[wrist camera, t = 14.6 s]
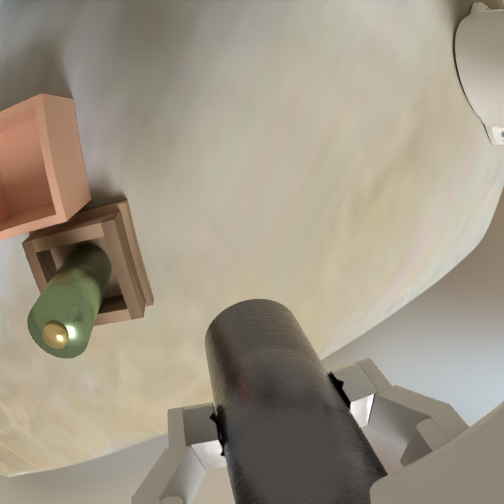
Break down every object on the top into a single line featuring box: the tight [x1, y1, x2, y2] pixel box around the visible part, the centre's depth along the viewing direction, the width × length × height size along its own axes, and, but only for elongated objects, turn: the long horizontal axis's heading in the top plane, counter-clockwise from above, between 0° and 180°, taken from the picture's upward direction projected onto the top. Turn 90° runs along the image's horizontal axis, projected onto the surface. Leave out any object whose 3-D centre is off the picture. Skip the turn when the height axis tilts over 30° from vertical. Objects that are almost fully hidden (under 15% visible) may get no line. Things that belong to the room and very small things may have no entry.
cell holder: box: [22, 200, 154, 326], centre depth 23 cm, size 9×9×4 cm
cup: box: [0, 93, 92, 240], centre depth 17 cm, size 8×8×6 cm
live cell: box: [27, 244, 112, 358], centre depth 19 cm, size 4×4×10 cm
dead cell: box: [205, 299, 388, 504], centre depth 9 cm, size 4×4×10 cm
